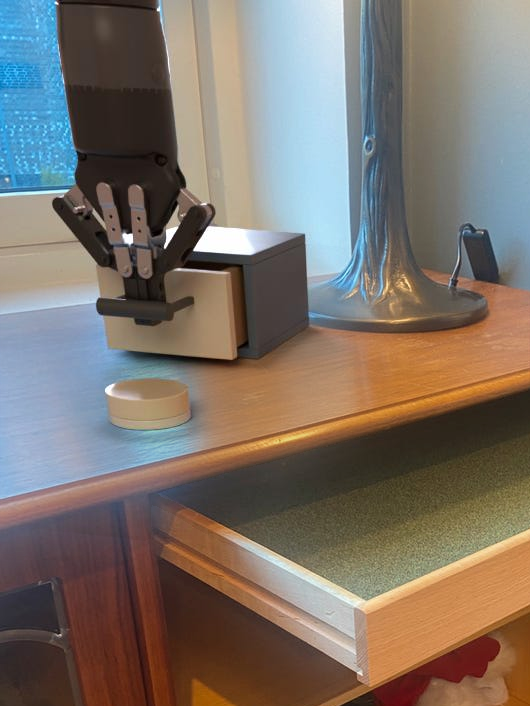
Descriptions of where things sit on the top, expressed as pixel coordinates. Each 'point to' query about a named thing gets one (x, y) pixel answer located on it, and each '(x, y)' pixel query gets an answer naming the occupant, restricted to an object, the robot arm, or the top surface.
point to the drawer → (179, 312)
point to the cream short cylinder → (148, 403)
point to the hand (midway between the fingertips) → (148, 323)
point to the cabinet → (262, 281)
